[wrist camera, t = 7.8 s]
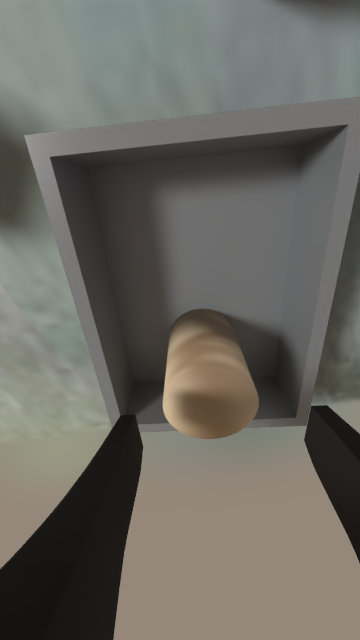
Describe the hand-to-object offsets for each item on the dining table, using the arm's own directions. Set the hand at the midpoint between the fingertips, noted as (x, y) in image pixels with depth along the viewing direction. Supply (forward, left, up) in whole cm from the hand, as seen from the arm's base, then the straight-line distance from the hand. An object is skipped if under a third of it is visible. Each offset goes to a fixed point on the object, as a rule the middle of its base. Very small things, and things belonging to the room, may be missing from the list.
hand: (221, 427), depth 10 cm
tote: (0, -3, -10) cm, 10 cm away
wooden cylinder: (0, +1, -9) cm, 9 cm away
